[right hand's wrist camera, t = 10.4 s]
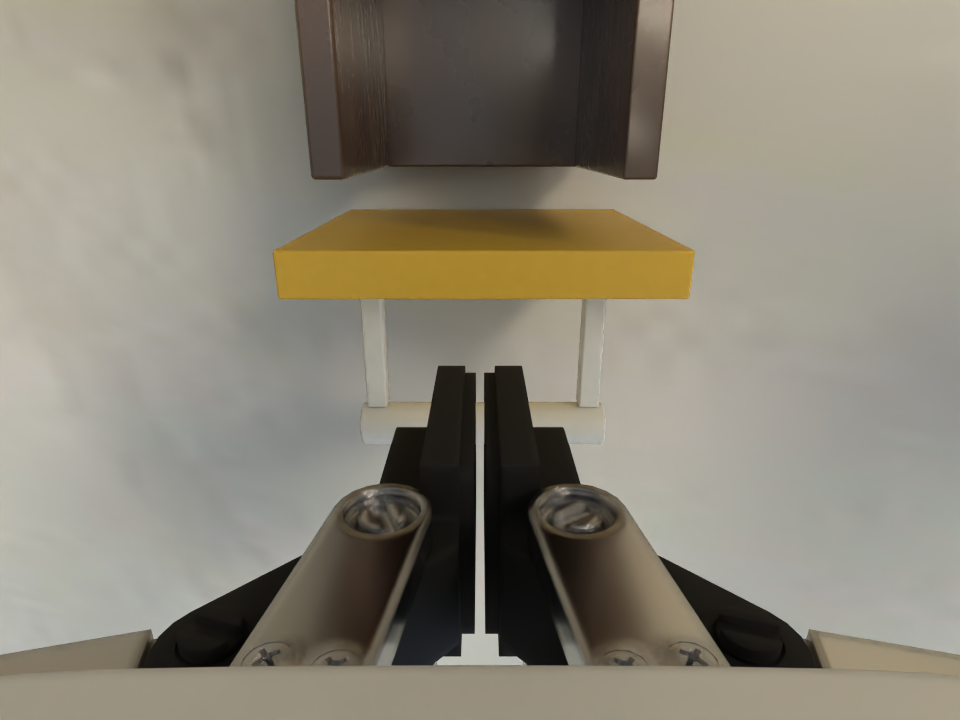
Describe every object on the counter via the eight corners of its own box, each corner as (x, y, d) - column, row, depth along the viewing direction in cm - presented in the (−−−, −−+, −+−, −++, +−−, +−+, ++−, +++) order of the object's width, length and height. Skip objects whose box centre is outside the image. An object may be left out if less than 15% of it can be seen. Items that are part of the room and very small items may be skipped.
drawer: (602, 366, 25) (666, 485, 16) (361, 367, 25) (300, 485, 16) (650, -266, 18) (808, -642, 9) (315, -266, 18) (162, -641, 9)
